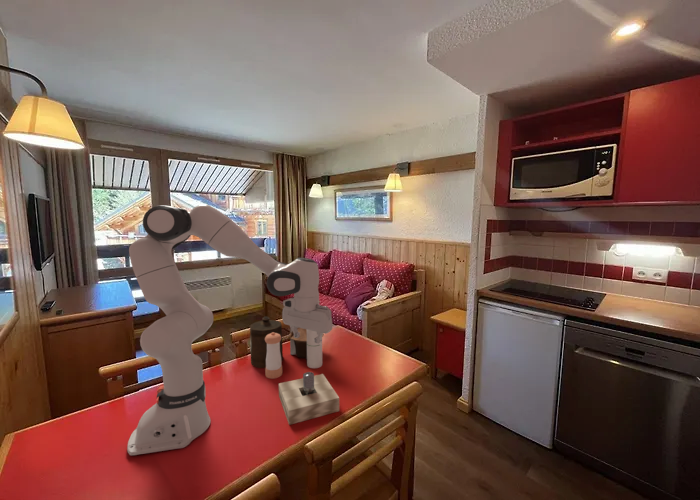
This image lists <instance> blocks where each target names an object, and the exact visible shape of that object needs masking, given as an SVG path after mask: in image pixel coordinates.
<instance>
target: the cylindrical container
mask: <svg viewBox="0 0 700 500" xmlns="http://www.w3.org/2000/svg"><path fill="white" fill-rule="evenodd" d="M317 336H318V334H317V332H316V331H312V330H307V358H306V366H307V367H308V368H310V369H318V368H321V367H322V366H323V337H322V336H321V342H320V343H315V342H314V341H315V340H314V338H316V337H317Z"/></svg>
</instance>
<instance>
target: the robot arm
mask: <svg viewBox="0 0 700 500" xmlns="http://www.w3.org/2000/svg"><path fill="white" fill-rule="evenodd" d="M142 226H143V230H144V231H145V233H146V234H147V235H145V236H144V237H141V238H138V239H136V240H135V241H133V242H132V243H131V244H130V245H129V249H128V252H129V253H128V254H129V259H130V263H131V268H132V270H133V274H134V275H135V277H136V278H135V279H136V281H137V283H138V286H139V288H140V290H141V292H142V295H143V297H144V300H145V301H146V302H147V303H148V304H151V305H153V306H157V307H158V308H159V309H160V310H162V312H163V313H164V314H165V316H163V317H161V318H159V319H157V320H155V321H154V322H153V323H151V324H150V325H149V326H147V327H146V328H145V329H144V330H143V331H142V332H141V335H140V339H139V342H140V343H139V344H140V347H141V350H142V351H143V352H144V354H146V355H147V356H149V357H150V358H153V359H156V361H157V362H158V364H159V365H160V368H161V371H162V372H161V373H162V381H163V382H162V383H163V385H160V386H159V387H158V388H157V390H156V403H155V404H153V405H152V406H151V407H149V408H148V409H147V410H146V411H145V412H144V413H143V414H142V415H141V417H140V419H139V420H138V423H137V426H136V428H135V429H134V430H133V431H132V432H131V435H130V437H129V439H128V441H127V453H128V455H129V456H137V455H143V454H150V453H157V452H162V451H163V452H164V451H169V450H178V449H183V448H185V447H188V445H190V444H191V442H193V440H195V439H196V438H198V437H199V436H201V435H202V434H203V433H205V432H206V431H207V430H208V428H209V426H210V425H211V417H210V415H209V413H208V409H207V405H206V396H207V395H206V394H207V393H206V392H207V391H206V383H205V380H204V375H203V374H204V373H203V361H202V359H201V358H202V357H200V356H198V355H197V354H194V352H193V348H192V344H193V342H194V341H195V340H197V339H198V338H200V337H202V336H203V335H204V334H206V333H207V331H208V330H209V329H210V328H211V326H212V325H213V323H214V314H213V311H212V310H211V308H209V306H207V305H205V304H202V303H200V302H199V301H198V300H197V299H196V298H195V297H194V296H193V295H192V293H191V292H190V291H189V289H188V287H187V286H186V284H185V282H184V280H183V278H182V276H181V272H180V271H179V269H178V266H177V264H176V262H175V259H174V257H173V254H172V250H174V249H175V248H177V247H178V246H179V245H181V244H183V243H184V242H186V241H187V240H188V239H189V238H190V237H191V236H193V237H197V238H199V239H200V240H202V241H203V242H204V243H206V245H208V246H209V247H210V248H212V249H213V250H214V251H216V252H218V253H220V254H221V255H223V256H226V257H229V258H230V257H231V258H238V259H241V260H242V259H243V260H246V261H247V262H249V263H250V264H252V265H253V266H255V267H256V268H257V269H259V270H260V272H262V273H264V274H265V275H266V277H267V279H266V288H267V290H268V291H269V292H270V294H272V295H273V296H275V297H276V296H277V297H284V296H285V297H286V296H290V295H293V297H290V298H287V299H284V300H283V301H282V305H283V307H282V314H281V315H282V317H281V318H282V322H283V324H284V325H286V326H289V327H290V326H291V329H292V331H293V333H294V338H299V337H300V332H298V330H297V327H299V328H303V329H307V330H312V331H316V332H317V334H318V336H317V337H316V338H314V340H315V341H314V342H315V343H320V342H321V336H322V335H323V334H325V335H326V334H328V333H330V332H331V331H332V330H333V318H332V310H331V309H330V308H329V307H328V306H326V305H321V304H320V303H319V301H320V292H319V284H320V273H319V272H320V271H319V265H318V263H317V262H316V261H315V260H314V259H311V258H308V257H297V258H296V259H294V260H293V261H292V262H289V263H285V262H281V261H278V260H276V259H275V258H274V257H272V256H271V255H270V254H269V253H267V252H266V251H264V250H263V249H262V248H261V247H260V246H259V245H257V244H256V243H255V242H254V241H253V240H252V239H251V238H250V237H249V235H248V234H247V233H246V232H245V231H244V230H243V229H242V228H241V227H240V226H239V225H238V224H237V223H236V222H235V221H234V220H232V219H231V218H230V217H229V216H227V215H226V214H224V213H223V212H221V211H220V210H218V209H216V208H215V207H214V206H212V205H209V204H203V203H202V204H198V205H197V206H195V207H193V208H192V209H191V210H190V211H188V210H187V209H184V208H180V207H175V206H172V205H171V206H170V205H156V206H152V207H151V208H149V209H148V210H146V212H145V213H144V215H143V218H142Z"/></svg>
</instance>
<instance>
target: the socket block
mask: <svg viewBox="0 0 700 500" xmlns="http://www.w3.org/2000/svg"><path fill="white" fill-rule="evenodd" d="M278 397H279V400H280V403H281V406H282V409H283V412H284V415H285V417H286V420H287V424H288V425H289V426H290V425H293V424H297V423H302V422H304V421H308V420H311V419H315V418H319V417H323V416H326V415H330V414H333V413H337V412H340V397H339V395H338V393H337V392H336V391H335V389H334V388H333V387H332V384H330V382H329V381H328V379H327V378H326V376H325V374H324V373H321V374H315V375H314V393H313V394H309V395H305V396H304V395H303V377H302V378H298V379H294V380H289V381H284V382H280V383H278Z"/></svg>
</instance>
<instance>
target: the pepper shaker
mask: <svg viewBox="0 0 700 500" xmlns="http://www.w3.org/2000/svg"><path fill="white" fill-rule="evenodd" d="M280 341H281V336H280V334H278V333H274V332H272V333H271V334H268V335H267V336H266V337H265V342H266V343H267V355H266V368H264V371H265V372H264V373H265V377H266V378H267V379H270V380H271V379H272V380H273V379H277V378H280V377H281V376H282V375H283V365H282V362H281V354H280Z"/></svg>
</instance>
